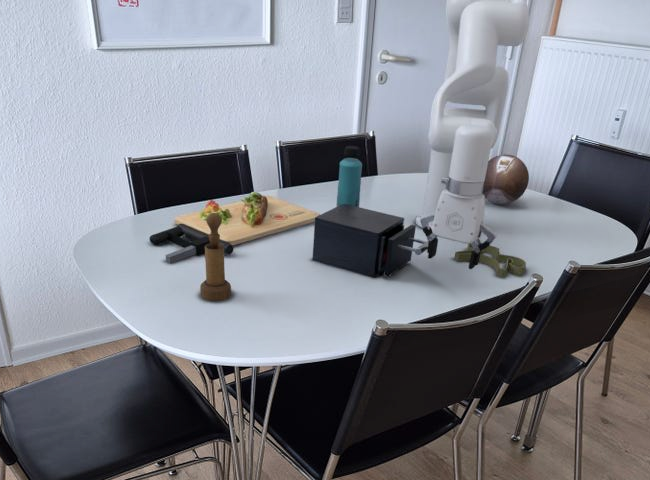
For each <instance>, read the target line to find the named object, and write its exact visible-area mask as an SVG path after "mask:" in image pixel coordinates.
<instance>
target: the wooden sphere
mask: <svg viewBox="0 0 650 480" xmlns="http://www.w3.org/2000/svg"><path fill="white" fill-rule="evenodd" d="M529 181H530V173H529V170H528V167H527V166H526V163H525V162H524V161H523V160H522V159H521V158H520V157H517V156H515V155H513V154H499V155H496V156H494V157H492V158H489V160H488V166H487V171H486V176H485V182H484V187H483V192H482V194H483V195H484V196H485V200H487V201H488V202H490V203H493V204H495V205H509V204H512V203H514V202H515V201H517V200H519V199H520V198H521V197H522V196H523V195H524V194H525V192H526V190H527V188H528V185H529Z"/></svg>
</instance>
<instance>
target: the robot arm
mask: <svg viewBox="0 0 650 480" xmlns="http://www.w3.org/2000/svg"><path fill="white" fill-rule="evenodd" d="M445 22H446V27H447V32H448V38H449V48H448V55H447V61H446V67H445V73H444V74H445V75H444V82H443V83H442V84H441V86H440V87H439V89H438V90H437V91H436V93H435V96H434V98H433V101H432V104H431V109H430V118H429V128H428V144H429V147H430V148H431V149H430V158H429V166H428V172H427V179H426V186H425V193H424V200H423V206H422V214H419V215H418V216H416V217H415V224H416V225H417V226H418V227H420V228H422V232H423V233H424V235H425V236H426V241H429V243H428V249H427V250H426V253H427V258H428V259H430V260H431V259H433V258H435V256H436V255H437V249H438V245H439V238H442V239H446V240H448V241H449V240H450V241H453V242H458V243H461V244H467V245H468V244H471V246H472V247H473V249H474V251H473V252H472V253H471V257H470V261H469V263H468V269H469V270H473V269H474V268H475V267H476V266H479V263H480V262H479V259H480V254H481V251H482V250H483V249H485V248H487V247H488V246H489V245H490V246H491V244H492V243H493V242H494V241H495V240H496V239H497V237H498V234H497V233H496V232H495V231H494V230H492V229H491V228H490V227H489V226H487V225H486V224H485V223H484V221H485V209H486V208H485V207H486V198H485V196H484V195H483V194H482V192H483V187H484V182H485V176H486V171H487V166H488V161H489V160H490V155H491V150H492V149H494V147H495V145H496V143H497V141H498V138H499V134H500V130H501V125H502V120H503V116H504V112H505V111H504V110H505V106H506V102H507V96H508V92H509V85H510V84H509V83H510V78H509V73H508V70H507V69H506V68H505V67H503V66H500V65H497V57H498V56H497V55H498V46H502V47H519V46H520V45H521V44H523V43H524V41H525V39H526V37H527V34H528V31H529V24H530V11H529V7H528V3H527V1H526V0H446V3H445ZM448 102H449V103H451V104H452V103H453V104H459V105H471V106H483V107H484V108H485V109H474V108H467V107H466V108H465V107H445V106H446V104H447V103H448ZM482 234H483V235H485V236H486V237H487V238H486V239H485V241H484V242H482V241H481V237H482Z"/></svg>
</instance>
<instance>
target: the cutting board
mask: <svg viewBox="0 0 650 480" xmlns="http://www.w3.org/2000/svg"><path fill="white" fill-rule="evenodd" d="M210 213H217V214H219V215H220V217H221V219H222V222H221V225H220V227H219V228H218V234H219V235H220V239H221V240H224V241H226V242H228V243H230V244H231V245H233V246H235V245H239V244H242V243H245V242H249V241H252V240H256V239H259V238H263V237H266V236H270V235H273V234H276V233H280V232H283V231H286V230H290V229H295V228H297V227H300V226H305V225H307V224H311V223H315V217H317V216H319V215H321V213H319V212H316V211H313V210H312V209H311V210H310V209H309V208H305V207H303V206H300V205H298V204H294V203H291V202H289V201H286V200H285V199H284V200H283V199H281V198H278V197H275V196H274V195H267V194H266V195H262V194H261V193H259V192H257V191H251V192H250V194H249V196H247V197H242V198H241V199H240V201H235V202H231V203H228V204H227V203H226V204H223V205H219V203H217V202H216V201H215V200H213V199H210V200H209V201H207V203H206V204H205V209H202V210H198V211H193V212H189V213H185V214H182V215H178V216H176V217H175V218H174V224H175V225H176V226H177V225H178V224H181V223H182V224H185V225H188V226H190V227H192V226H193V227H192V228H195V229H197V230H200V231H202V232H204V233H207V234H210V233H211V230H210V228H209V226H208V224H207V216H208V215H209V214H210Z"/></svg>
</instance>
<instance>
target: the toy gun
mask: <svg viewBox="0 0 650 480" xmlns="http://www.w3.org/2000/svg"><path fill="white" fill-rule="evenodd" d="M192 227H193V226H192ZM192 227H190V226H188V225H185V224H182V223H181V224H178V225H177V224H176V226H175V227H170V228H169V229H165V230H163V231H160V232H157V233H154V234H151V235H150V236H149V239H148V240H149V242H150V243H151V245H155V246H159V245H161V244H165V243H167V242H170V243H171V244H173V245H176V246H178V247H180V248H181V249H177V250H175V251H173V252H170V253H167V254H165V255H164V256H165V262H167V263H169V264H173V263H176V262H178V261H181V260H183V259H186V258H188V257H191V256H193V255H195V256H198V257H199V256H200V257H201V256H202V255H205V245H206V244H209V243H210V240H209V234H207V233H204V232H202V231H200V230H197V229H195V228H192ZM185 238H186V239H185ZM190 240H191V241H190ZM219 244H222V245H224V255H229V256H230V255H231V254H232V253H233V252H234V249H235V248H234V245H231V244H230V243H228V242H226V241H224V240H221V239H219Z"/></svg>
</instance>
